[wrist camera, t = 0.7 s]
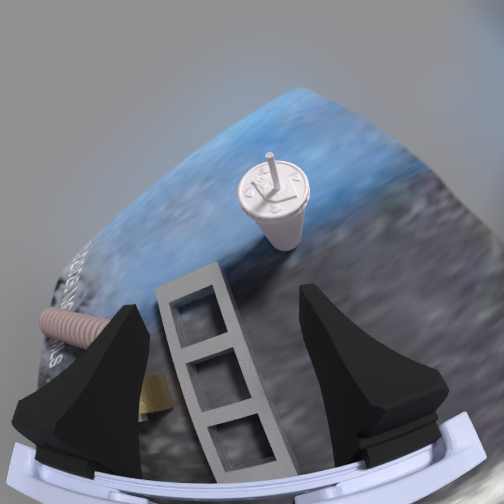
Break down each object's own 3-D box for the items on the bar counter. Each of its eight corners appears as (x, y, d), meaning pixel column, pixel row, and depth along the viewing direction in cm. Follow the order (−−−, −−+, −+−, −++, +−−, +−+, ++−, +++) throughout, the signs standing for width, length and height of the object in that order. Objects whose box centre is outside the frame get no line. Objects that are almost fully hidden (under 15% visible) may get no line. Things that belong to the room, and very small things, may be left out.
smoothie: (296, 271, 31) (279, 199, 18) (248, 247, 33) (205, 171, 21) (322, 225, 32) (320, 137, 20) (275, 205, 35) (250, 118, 22)
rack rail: (299, 467, 22) (297, 475, 20) (228, 484, 22) (221, 492, 20) (224, 268, 33) (217, 260, 30) (165, 294, 33) (155, 288, 31)
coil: (126, 318, 28) (41, 301, 33) (117, 358, 26) (33, 330, 30) (147, 329, 32) (61, 312, 36) (140, 365, 30) (54, 339, 34)
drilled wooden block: (176, 414, 27) (147, 420, 21) (148, 419, 27) (117, 425, 22) (162, 368, 29) (131, 366, 24) (136, 376, 30) (103, 374, 24)
